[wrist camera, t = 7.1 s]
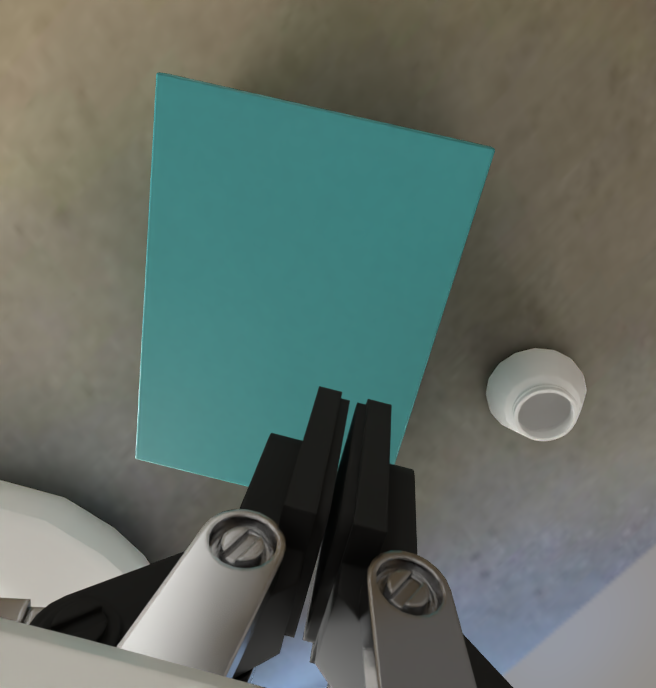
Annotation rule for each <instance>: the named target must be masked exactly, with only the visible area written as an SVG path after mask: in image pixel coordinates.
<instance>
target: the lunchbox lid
mask: <svg viewBox="0 0 656 688" xmlns="http://www.w3.org/2000/svg"><path fill="white" fill-rule="evenodd" d="M494 152H495V149H494V148H492V147H490V146H486V145H482V144H477V143H473V142H468V141H464V140H460V139H455V138H451V137H446V136H442V135H437V134H433V133H429V132H424V131H420V130H415V129H411V128H406V127H402V126H398V125H393V124H389V123H384V122H380V121H375V120H371V119H367V118H362V117H358V116H353V115H349V114H344V113H340V112H336V111H331V110H327V109H322V108H318V107H313V106H309V105H305V104H300V103H296V102H291V101H287V100H282V99H278V98H273V97H269V96H265V95H260V94H256V93H251V92H247V91H242V90H238V89H234V88H229V87H225V86H220V85H216V84H211V83H207V82H203V81H198V80H194V79H189V78H185V77H180V76H176V75H172V74H167V73H160V72H159V73H157V74H156V92H155V110H154V128H153V146H152V164H151V182H150V201H149V219H148V237H147V255H146V273H145V291H144V309H143V328H142V346H141V364H140V382H139V400H138V418H137V436H136V455H135V458H136V459H139V460H143V461H147V462H151V463H155V464H159V465H163V466H167V467H171V468H175V469H179V470H183V471H187V472H191V473H195V474H199V475H203V476H207V477H211V478H215V479H219V480H223V481H227V482H232V483H236V484H240V485H244V486H248V487H249V484H250V482H251V480H252V477H253V475H254V472H255V470H256V467H257V465H258V462H259V460H260V457H261V455H262V453H263V450H264V448H265V445H266V443H267V440H268V438H269V436H270V434H271V433H275V434H279V435H283V436H286V437H290V438H294V439H298V440H302V441H303V438H304V435H305V432H306V428H307V425H308V422H309V418H310V415H311V412H312V408H313V405H314V402H315V398H316V395H317V392H318V388H319V386H321V387H325V388H329V389H333V390H337V391H341V392H342V396H341V398H342V399H346V400H350V404H349V409H348V415H347V420H346V426H345V431H344V437H343V442H342V448H341V454H340V459H339V464H340V460H341V457H342V453H343V450H344V446H345V443H346V439H347V436H348V432H349V429H350V425H351V422H352V418H353V415H354V411H355V408H356V404H357V402H358V403H362V404H366V402H367V400H368V399H371V400H375V401H379V402H383V403H387V404H391V405H392V412H391V440H390V464H393V465H395V462H396V459H397V455H398V452H399V449H400V446H401V443H402V440H403V437H404V434H405V430H406V427H407V424H408V421H409V418H410V415H411V412H412V409H413V405H414V402H415V399H416V396H417V393H418V390H419V387H420V384H421V380H422V377H423V374H424V371H425V368H426V365H427V362H428V359H429V355H430V352H431V349H432V346H433V343H434V340H435V337H436V334H437V330H438V327H439V324H440V321H441V318H442V315H443V312H444V309H445V305H446V302H447V299H448V296H449V293H450V290H451V287H452V284H453V280H454V277H455V274H456V271H457V268H458V265H459V262H460V259H461V255H462V252H463V249H464V246H465V243H466V240H467V237H468V234H469V230H470V227H471V224H472V221H473V218H474V215H475V212H476V209H477V205H478V202H479V199H480V196H481V193H482V190H483V187H484V183H485V180H486V177H487V174H488V171H489V168H490V165H491V162H492V158H493V155H494ZM338 467H339V465H338ZM337 471H338V470H337Z"/></svg>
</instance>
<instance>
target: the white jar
mask: <svg viewBox="0 0 656 688" xmlns="http://www.w3.org/2000/svg"><path fill="white" fill-rule="evenodd" d="M586 392H587V389H586V384H585V379H584V374H583V373H582V371H581V370H580V369H579V368H578V366H577V365H576V364H575V363H574V361H573V360H572V359H571V358H569V357H567V356H565V355H563V354H561V353H559V352H557V351H555V350H549V349H539V348H533V349H529V350H525V351H521V352H517V353H514V354H513V355H511V356H510V357H508V358H507V359H505V360H504V361H502V362H501V363H499V364H498V366H497V367H496V369H495V370H494V371H493V373H492V374H491V376H490V377H489V379H488V384H487V389H486V397H487V401H488V405H489V409H490V412H491V413H492V415H493V416H494V417H495V418H496V419H497V420H498V421H499V423H500V424H501V425H503V426H505V427H507V428H509V429H511V430H513V431H515V432H517V433H519V434H522V435H524V436H526V437H528V438H530V439H533V440H537V441H550V440H555V439H558V438H560V437H562V436H564V435H565V434H567V433H568V432H569V431H570V430H571V429H572V428H573V426H574V425H575V423H576V421H577V418H578V416H579V414H580V411H581V409H582V406H583V402H584V399H585V396H586Z"/></svg>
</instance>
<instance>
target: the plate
mask: <svg viewBox="0 0 656 688" xmlns="http://www.w3.org/2000/svg"><path fill="white" fill-rule="evenodd" d="M147 565H150V563H149V562H148V560H147V559H146V557H145V556H144V555H143V554H142V553H141V552H140V551H139V550H138V549H137V548H136V547H134V546H133V545H132V544H131V543H130V542H129V541H128V540H127V539H126V538H125V537H124V536H123V535H121V534H120V533H119V532H118V531H117V530H116V529H115V528H114V527H112V526H110V525H109V524H107V523H105V522H104V521H102V520H101V519H99V518H97V517H96V516H94V515H92V514H91V513H89V512H88V511H86V510H84V509H83V508H81V507H79V506H78V505H76V504H75V503H73V502H71V501H70V500H68V499H66V498H65V497H61V496H57V495H54V494H50V493H46V492H43V491H39V490H35V489H32V488H28V487H24V486H20V485H17V484H13V483H9V482H6V481H1V480H0V598H17V599H31V607H46V606H48V605H49V604H50V603H52V602H54V601H56V600H58V599H60V598H62V597H64V596H66V595H69V594H71V593H74V592H77V591H79V590H82V589H85V588H87V587H90V586H93V585H96V584H98V583H101V582H104V581H106V580H109V579H112V578H114V577H117V576H120V575H123V574H125V573H128V572H131V571H133V570H136V569H139V568H141V567H144V566H147Z"/></svg>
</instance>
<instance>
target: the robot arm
mask: <svg viewBox="0 0 656 688" xmlns="http://www.w3.org/2000/svg"><path fill="white" fill-rule="evenodd" d="M341 396H342V392H341V391H337V390H333V389H329V388H325V387H321V386H319V388H318V392H317V395H316V398H315V402H314V405H313V408H312V412H311V415H310V418H309V422H308V425H307V428H306V432H305V435H304V438H303V441H302V440H298V439H294V438H290V437H286V436H283V435H279V434H275V433H271V434H270V436H269V438H268V440H267V443H266V445H265V448H264V450H263V453H262V455H261V457H260V460H259V462H258V465H257V467H256V470H255V472H254V475H253V477H252V480H251V482H250V484H249V487H248V489H247V492H246V494H245V497H244V499H243V502H242V504H241V507H240V509H233V510H228V511H223V512H221V513H219V514H217V515H215V516H213V517H212V518H211V519H210V520H209V521H208V522H207V523H206V524H205V525H204V526H203V527H202V529H201V530H200V532H199V533H198V534H197V536H196V537H195V538H194V540H193V541H192V543H191V544H190V545H189V547H188V548H187V550H186V551H185V552H182V553H179V554H177V555H174V556H171V557H168V558H166V559H163V560H160V561H158V562H155V563H152V564H150V565H147V566H144V567H141V568H139V569H136V570H133V571H131V572H128V573H125V574H123V575H120V576H117V577H114V578H112V579H109V580H106V581H104V582H101V583H98V584H96V585H93V586H90V587H87V588H85V589H82V590H79V591H77V592H74V593H71V594H69V595H66V596H64V597H62V598H60V599H58V600H56V601H54V602H52V603H50V604H49V605H48V606H46V607H31V599H17V598H0V688H265V687H261V686H257V685H254V684H251V681H252V679H253V675H254V671H255V667H256V666H258V665H260V664H261V663H263V662H265V661H267V660H269V659H270V658H272V657H274V656H276V655H277V654H279V653H280V650H281V646H282V642H283V639H284V635H286V636H290V637H293V638H294V636H295V633H296V629H297V626H298V622H299V619H300V616H301V612H302V609H303V605H304V602H305V598H306V595H307V591H308V588H309V585H310V581H311V578H312V574H313V571H314V567H315V564H316V561H317V566H316V571H315V576H314V582H313V587H312V592H311V598H310V603H309V608H308V614H307V619H306V624H305V629H304V635H303V640H304V641H308V642H312V643H313V645H312V651H311V657H310V663H314V664H316V666H317V667H318V669H319V670H320V672H321V673H322V675H323V676H324V678H325V679H326V681H327V682H328V684H327V687H326V688H513V687H512V686H511V685H510V684H509V683H508V682H507V681H506V680H505V678H504V677H503V676H502V675H501V674H500V673H499V672H498V671H497V670H496V669H495V668H494V667H493V666H492V665H491V663H490V662H489V661H488V660H487V659H486V658H485V657H484V656H483V655H482V654H481V653H480V652H479V651H478V650H477V648H476V647H475V646H474V645H473V644H472V643H471V642H470V641H469V640H468V639H467V638H466V637H465V636H464V634H463V633H462V630H461V626H460V622H459V619H458V615H457V611H456V607H455V604H454V600H453V596H452V592H451V589H450V587H449V585H448V583H447V580H446V579H445V577H444V576H443V575H442V573H441V572H440V571H439V570H438V569H437V568H436V567H435V566H434V565H433V564H431V563H430V562H429V561H428V560H426V559H424V558H422V557H420V556H418V555H417V534H416V504H415V475H414V471H413V470H412V469H408V468H405V467H401V466H397V465H393V464H390V440H391V412H392V405H391V404H387V403H383V402H379V401H375V400H371V399H368V400H367V402H366V404H362V403H358V402H357V404H356V408H355V411H354V415H353V418H352V422H351V425H350V429H349V432H348V436H347V439H346V443H345V446H344V450H343V453H342V457H341V460H340V464H339V459H340V454H341V448H342V442H343V437H344V431H345V426H346V420H347V415H348V409H349V404H350V400H346V399H342V398H341ZM338 465H339V467H338ZM337 470H338V471H337ZM318 554H319V555H318ZM317 557H318V560H317Z"/></svg>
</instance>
